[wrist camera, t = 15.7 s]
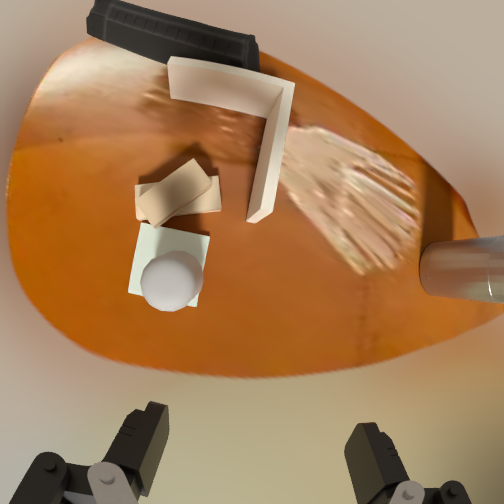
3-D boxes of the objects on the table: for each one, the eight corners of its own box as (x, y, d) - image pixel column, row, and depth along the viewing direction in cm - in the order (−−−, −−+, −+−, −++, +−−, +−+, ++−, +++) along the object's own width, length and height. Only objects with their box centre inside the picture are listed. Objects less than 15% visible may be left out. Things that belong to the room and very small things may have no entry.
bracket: (276, 114, 36) (294, 83, 28) (255, 223, 34) (272, 211, 27) (173, 91, 33) (170, 56, 25) (137, 198, 32) (121, 180, 24)
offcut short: (193, 164, 32) (193, 158, 29) (211, 187, 32) (212, 182, 30) (138, 204, 30) (134, 200, 28) (155, 229, 31) (152, 226, 28)
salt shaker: (195, 306, 32) (195, 334, 19) (149, 293, 31) (120, 312, 18) (208, 258, 33) (215, 255, 20) (162, 245, 32) (139, 233, 19)
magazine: (292, 56, 27) (103, -42, 14) (282, 71, 26) (84, -30, 14) (236, 103, 42) (98, 26, 29) (226, 117, 42) (85, 38, 29)
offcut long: (216, 180, 34) (218, 175, 32) (220, 211, 34) (221, 208, 32) (138, 190, 32) (134, 185, 30) (140, 221, 32) (136, 218, 30)
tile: (209, 237, 33) (209, 236, 33) (196, 306, 33) (196, 307, 32) (142, 223, 32) (141, 222, 31) (129, 291, 31) (127, 292, 30)
